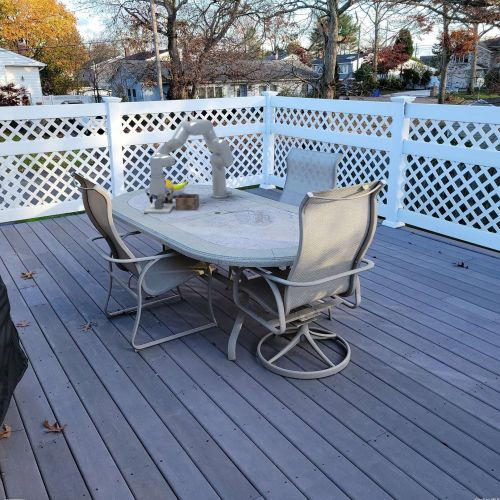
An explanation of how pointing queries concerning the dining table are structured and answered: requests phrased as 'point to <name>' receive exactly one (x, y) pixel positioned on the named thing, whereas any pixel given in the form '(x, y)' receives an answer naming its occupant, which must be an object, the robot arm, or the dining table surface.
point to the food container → (170, 197)
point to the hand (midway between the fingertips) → (159, 202)
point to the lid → (159, 207)
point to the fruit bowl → (175, 187)
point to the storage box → (187, 201)
